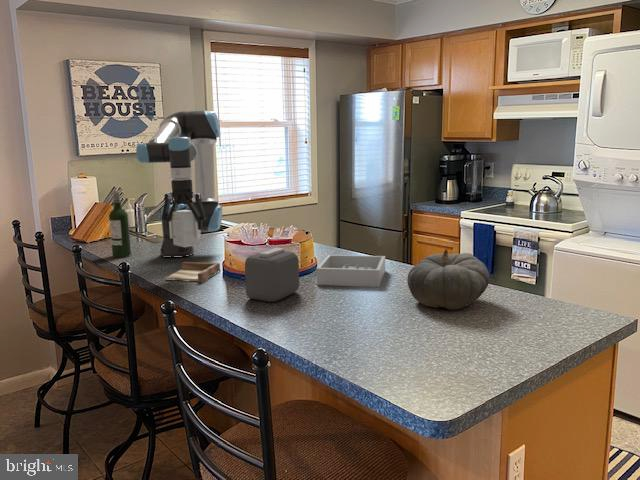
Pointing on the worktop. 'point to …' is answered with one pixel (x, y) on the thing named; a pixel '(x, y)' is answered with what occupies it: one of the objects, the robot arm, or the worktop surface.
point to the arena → (195, 271)
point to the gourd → (448, 280)
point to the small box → (184, 228)
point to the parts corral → (351, 270)
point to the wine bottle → (119, 229)
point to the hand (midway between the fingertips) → (185, 237)
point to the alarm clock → (271, 275)
